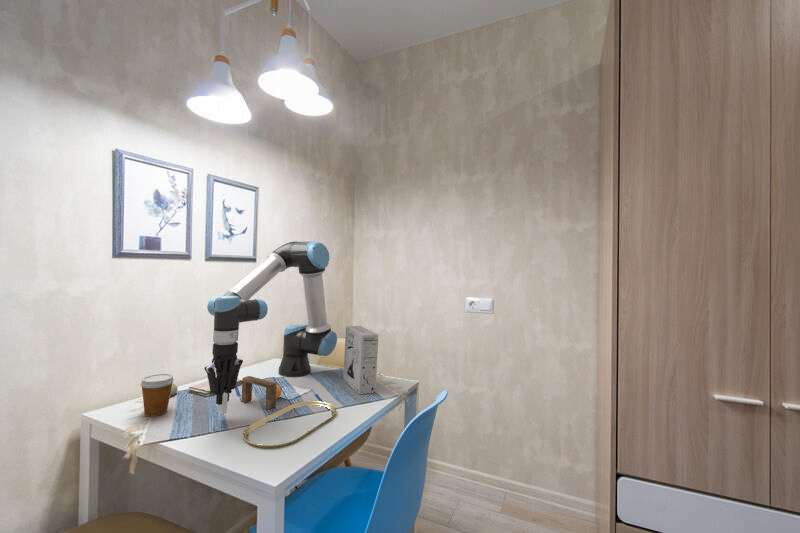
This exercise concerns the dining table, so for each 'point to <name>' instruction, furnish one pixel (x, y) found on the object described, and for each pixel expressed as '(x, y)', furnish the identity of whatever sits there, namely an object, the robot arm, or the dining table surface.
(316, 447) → the dining table surface
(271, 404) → the bridge
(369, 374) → the cereal box
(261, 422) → the oval ring
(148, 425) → the dining table surface
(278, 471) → the dining table surface
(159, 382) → the disposable coffee cup
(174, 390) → the sea urchin shell
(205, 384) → the washcloth
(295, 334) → the robot arm
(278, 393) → the ball
